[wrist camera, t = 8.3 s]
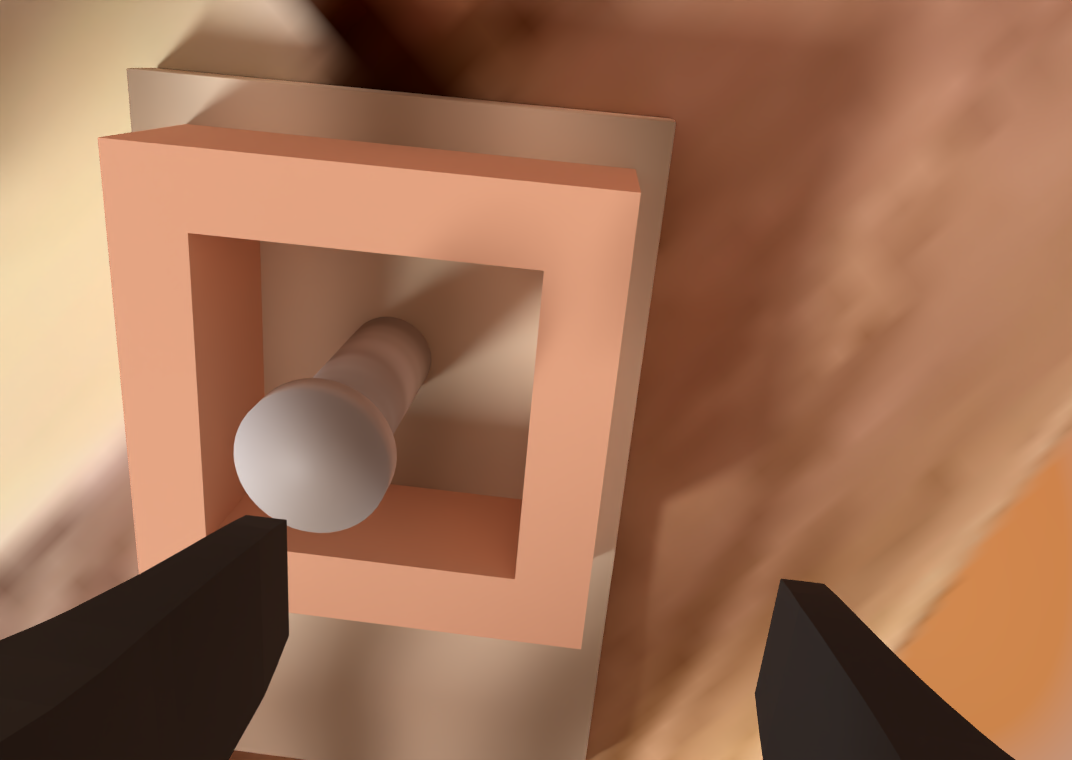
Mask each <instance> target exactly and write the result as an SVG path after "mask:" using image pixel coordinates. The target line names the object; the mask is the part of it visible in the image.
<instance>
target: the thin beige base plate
mask: <svg viewBox="0 0 1072 760" xmlns="http://www.w3.org/2000/svg"><path fill="white" fill-rule="evenodd" d="M127 78H128V91H129V103H130V116H131V128H132V132H137V131H144V130H150V129H157V128H163V127H170V126H176V125H183V124H192V125H202V126H212V127H222V128H232V129H242V130H252V131H262V132H272V133H282V134H292V135H302V136H311V137H321V138H331V139H341V140H351V141H361V142H371V143H381V144H391V145H401V146H411V147H421V148H431V149H441V150H451V151H461V152H471V153H481V154H491V155H501V156H511V157H521V158H530V159H540V160H550V161H560V162H570V163H580V164H590V165H600V166H610V167H620V168H630V169H636V173H637V177H638V182H639V186H640V190H641V197H640V205H639V213H638V220H637V228H636V235H635V243H634V251H633V258H632V266H631V273H630V281H629V289H628V296H627V304H626V311H625V319H624V327H623V334H622V342H621V349H620V357H619V365H618V372H617V380H616V387H615V395H614V403H613V410H612V418H611V426H610V433H609V441H608V448H607V456H606V464H605V471H604V479H603V486H602V494H601V502H600V509H599V517H598V524H597V532H596V540H595V547H594V555H593V562H592V570H591V578H590V585H589V593H588V601H587V608H586V616H585V623H584V631H583V639H582V646H581V649H573V648H566V647H558V646H550V645H542V644H534V643H526V642H518V641H510V640H502V639H494V638H486V637H478V636H470V635H462V634H454V633H447V632H439V631H431V630H423V629H415V628H407V627H399V626H391V625H383V624H375V623H367V622H359V621H351V620H343V619H335V618H328V617H320V616H312V615H304V614H296V613H289V637H288V639H287V642H286V645H285V647H284V650H283V652H282V655H281V657H280V660H279V662H278V665H277V668H276V670H275V672H274V675H273V677H272V679H271V682H270V684H269V686H268V689H267V691H266V694H265V696H264V698H263V700H262V701H261V703H260V705H259V707H258V709H257V710H256V712H255V714H254V716H253V718H252V719H251V721H250V723H249V725H248V726H247V728H246V730H245V732H244V734H243V735H242V737H241V739H240V741H239V742H238V744H237V746H236V748H235V749H234V750H236V751H244V752H251V753H259V754H266V755H274V756H281V757H289V758H296V759H304V760H586V753H587V746H588V739H589V732H590V725H591V718H592V711H593V704H594V697H595V690H596V683H597V676H598V669H599V662H600V655H601V648H602V641H603V634H604V627H605V620H606V613H607V606H608V599H609V592H610V584H611V577H612V570H613V563H614V556H615V549H616V542H617V535H618V528H619V521H620V514H621V507H622V500H623V493H624V486H625V479H626V472H627V465H628V458H629V451H630V444H631V437H632V430H633V423H634V416H635V409H636V402H637V395H638V388H639V381H640V374H641V367H642V360H643V353H644V346H645V339H646V331H647V324H648V317H649V310H650V303H651V296H652V289H653V282H654V275H655V268H656V261H657V254H658V247H659V240H660V233H661V226H662V219H663V212H664V205H665V198H666V191H667V184H668V177H669V170H670V163H671V156H672V149H673V142H674V135H675V128H676V122H675V121H674V120H673V119H671V118H661V117H651V116H641V115H630V114H620V113H610V112H600V111H590V110H579V109H569V108H559V107H549V106H539V105H528V104H518V103H508V102H498V101H487V100H477V99H467V98H457V97H447V96H436V95H426V94H416V93H406V92H396V91H385V90H375V89H365V88H355V87H344V86H334V85H324V84H314V83H304V82H293V81H283V80H273V79H263V78H253V77H242V76H232V75H222V74H212V73H202V72H191V71H181V70H171V69H161V68H127ZM260 258H261V292H262V327H263V361H264V397H263V398H262V399H261V400H260V401H259V402H258V403H257V404H256V405H255V406H254V407H253V408H252V409H251V410H250V411H249V412H248V413H247V415H246V416H245V417H244V419H243V420H242V422H241V424H240V426H239V428H238V431H237V434H236V436H235V442H234V463H235V467H236V471H237V475H238V477H239V480H240V482H241V484H242V486H243V488H244V489H245V491H246V492H247V494H248V495H249V497H250V498H251V499H252V500H253V502H254V503H255V504H256V505H257V506H258V507H259V508H260V509H261V510H263V511H264V512H265V513H266V514H268V515H269V516H270V517H272V518H276V519H285V520H287V526H289V527H291V528H295V529H298V530H301V531H307V532H314V533H330V532H336V531H341V530H344V529H348V528H350V527H352V526H355V525H357V524H358V523H360V522H362V521H363V520H365V519H366V518H367V517H368V516H369V515H371V514H372V513H373V511H374V510H375V509H376V508H377V507H378V505H379V503H380V502H381V500H382V499H383V497H384V495H385V493H386V491H387V489H388V487H389V485H390V484H395V485H403V486H412V487H420V488H429V489H437V490H446V491H454V492H462V493H471V494H479V495H488V496H496V497H505V498H513V499H523V488H524V477H525V467H526V456H527V445H528V435H529V424H530V413H531V403H532V392H533V381H534V371H535V360H536V349H537V339H538V328H539V317H540V307H541V296H542V285H543V275H544V271H541V270H532V269H522V268H513V267H504V266H494V265H485V264H475V263H466V262H456V261H447V260H438V259H428V258H419V257H409V256H400V255H391V254H381V253H372V252H362V251H353V250H344V249H334V248H325V247H315V246H306V245H297V244H287V243H278V242H268V241H260Z"/></svg>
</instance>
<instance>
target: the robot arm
mask: <svg viewBox="0 0 1072 760" xmlns="http://www.w3.org/2000/svg"><path fill="white" fill-rule="evenodd" d="M288 637H289V603H288V555H287V520H285V519H276V518H268V517H260V516H251V515H245V516H243V517H241V518H239V519H237V520H235V521H233V522H231V523H229V524H227V525H225V526H224V527H222V528H220V529H218V530H216V531H215V532H213V533H211V534H209V535H208V536H206V537H204V538H202V539H201V540H199V541H197V542H195V543H194V544H192V545H190V546H188V547H187V548H185V549H183V550H182V551H180V552H178V553H176V554H174V555H173V556H171V557H169V558H167V559H166V560H164V561H162V562H160V563H158V564H157V565H155V566H153V567H151V568H150V569H148V570H146V571H144V572H142V573H141V574H139V575H137V576H135V577H133V578H131V579H129V580H128V581H126V582H124V583H122V584H120V585H118V586H116V587H114V588H112V589H110V590H108V591H106V592H104V593H102V594H100V595H98V596H96V597H94V598H92V599H90V600H88V601H86V602H84V603H82V604H81V605H79V606H77V607H75V608H73V609H71V610H69V611H67V612H64V613H62V614H60V615H58V616H56V617H54V618H52V619H49V620H47V621H45V622H43V623H40V624H38V625H36V626H34V627H31V628H29V629H27V630H24V631H22V632H19V633H17V634H14V635H12V636H10V637H7V638H5V639H2V640H0V760H229V758H230V756H231V755H232V753H233V751H234V749H235V748H236V746H237V744H238V742H239V741H240V739H241V737H242V735H243V734H244V732H245V730H246V728H247V726H248V725H249V723H250V721H251V719H252V718H253V716H254V714H255V712H256V710H257V709H258V707H259V705H260V703H261V701H262V700H263V698H264V696H265V694H266V691H267V689H268V686H269V684H270V682H271V679H272V677H273V675H274V672H275V670H276V668H277V665H278V662H279V660H280V657H281V655H282V652H283V650H284V647H285V645H286V642H287V639H288ZM755 698H756V707H757V716H758V725H759V733H760V741H761V748H762V755H763V760H1015V759H1014V758H1012V757H1011V756H1010V755H1008V754H1007V753H1006V752H1004V751H1003V750H1002V749H1000V748H999V747H998V746H997V745H996V744H994V743H993V742H992V741H991V740H989V739H988V738H987V737H986V736H984V735H983V734H982V733H981V732H979V731H978V730H977V729H976V728H975V727H974V726H973V725H972V724H970V723H969V722H968V721H967V720H966V719H965V718H964V717H962V716H961V715H960V714H959V713H958V712H957V711H956V710H954V709H953V708H952V707H951V706H950V705H949V704H947V703H946V702H945V701H944V700H943V699H942V698H941V697H940V696H939V695H937V694H936V693H935V692H934V691H933V690H932V689H931V688H930V687H929V686H928V685H926V684H925V683H924V682H923V681H922V680H921V679H920V678H919V677H918V676H917V675H916V674H915V673H914V672H913V671H912V670H910V668H909V667H907V665H906V664H904V663H903V662H902V661H901V660H900V659H899V658H898V657H897V656H896V655H895V654H894V653H893V652H892V651H891V650H890V649H889V648H888V647H887V646H886V645H885V644H884V643H883V642H882V641H881V640H880V639H879V638H878V637H877V636H876V635H875V634H874V633H873V632H872V631H871V630H870V629H869V628H868V627H867V626H866V625H865V624H864V623H863V622H862V621H861V620H860V619H859V618H858V617H857V616H856V614H855V613H854V612H853V611H852V610H851V609H850V608H849V607H848V606H847V605H846V604H845V603H844V602H843V601H842V600H841V599H840V598H839V597H838V596H837V595H835V594H834V593H833V592H832V591H831V590H830V589H829V588H828V587H827V586H826V585H825V584H821V583H813V582H804V581H796V580H787V579H781V580H780V584H779V589H778V593H777V598H776V602H775V607H774V611H773V615H772V620H771V624H770V629H769V633H768V638H767V642H766V647H765V651H764V656H763V660H762V664H761V669H760V673H759V678H758V682H757V687H756V691H755Z"/></svg>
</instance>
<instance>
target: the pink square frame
mask: <svg viewBox="0 0 1072 760" xmlns="http://www.w3.org/2000/svg"><path fill="white" fill-rule="evenodd" d="M98 146H99V156H100V167H101V178H102V188H103V199H104V209H105V220H106V230H107V241H108V252H109V262H110V273H111V283H112V294H113V305H114V315H115V326H116V336H117V347H118V358H119V368H120V379H121V389H122V400H123V410H124V421H125V432H126V442H127V453H128V463H129V474H130V485H131V495H132V506H133V516H134V527H135V538H136V548H137V559H138V569H139V574H141V573H142V572H144V571H146V570H148V569H150V568H151V567H153V566H155V565H157V564H158V563H160V562H162V561H164V560H166V559H167V558H169V557H171V556H173V555H174V554H176V553H178V552H180V551H182V550H183V549H185V548H187V547H188V546H190V545H192V544H194V543H195V542H197V541H199V540H201V539H202V538H204V537H206V536H208V535H209V534H211V533H213V532H215V531H216V530H218V529H220V528H222V527H224V526H225V525H227V524H229V523H231V522H233V521H235V520H237V519H239V518H241V517H243V516H245V515H251V516H260V517H268V518H272V517H270V516H269V515H268V514H266V513H265V512H264V511H263V510H261V509H260V508H259V507H258V506H257V505H256V504H255V503H254V502H253V500H252V499H251V498H250V497H249V495H248V494H247V492H246V491H245V489H244V488H243V486H242V484H241V482H240V480H239V477H238V475H237V471H236V467H235V463H234V442H235V436H236V434H237V431H238V428H239V426H240V424H241V422H242V420H243V419H244V417H245V416H246V415H247V413H248V412H249V411H250V410H251V409H252V408H253V407H254V406H255V405H256V404H257V403H258V402H259V401H260V400H261V399H262V398H263V397H264V361H263V327H262V292H261V258H260V241H268V242H278V243H287V244H297V245H306V246H315V247H325V248H334V249H344V250H353V251H362V252H372V253H381V254H391V255H400V256H409V257H419V258H428V259H438V260H447V261H456V262H466V263H475V264H485V265H494V266H504V267H513V268H522V269H532V270H541V271H544V275H543V285H542V296H541V307H540V317H539V328H538V339H537V349H536V360H535V371H534V381H533V392H532V403H531V413H530V424H529V435H528V445H527V456H526V467H525V477H524V488H523V499H513V498H505V497H496V496H488V495H479V494H471V493H462V492H454V491H446V490H437V489H429V488H420V487H412V486H403V485H395V484H390V485H389V487H388V489H387V491H386V493H385V495H384V497H383V499H382V500H381V502H380V503H379V505H378V507H377V508H376V509H375V510H374V511H373V513H372V514H371V515H369V516H368V517H367V518H366V519H365V520H363V521H362V522H360V523H358V524H357V525H355V526H352V527H350V528H348V529H344V530H341V531H336V532H330V533H314V532H307V531H301V530H298V529H295V528H291V527H289V526H287V555H288V603H289V613H296V614H304V615H312V616H320V617H328V618H335V619H343V620H351V621H359V622H367V623H375V624H383V625H391V626H399V627H407V628H415V629H423V630H431V631H439V632H447V633H454V634H462V635H470V636H478V637H486V638H494V639H502V640H510V641H518V642H526V643H534V644H542V645H550V646H558V647H566V648H573V649H581V646H582V639H583V631H584V623H585V616H586V608H587V601H588V593H589V585H590V578H591V570H592V562H593V555H594V547H595V540H596V532H597V524H598V517H599V509H600V502H601V494H602V486H603V479H604V471H605V464H606V456H607V448H608V441H609V433H610V426H611V418H612V410H613V403H614V395H615V387H616V380H617V372H618V365H619V357H620V349H621V342H622V334H623V327H624V319H625V311H626V304H627V296H628V289H629V281H630V273H631V266H632V258H633V251H634V243H635V235H636V228H637V220H638V213H639V205H640V197H641V190H640V186H639V182H638V177H637V173H636V169H630V168H620V167H610V166H600V165H590V164H580V163H570V162H560V161H550V160H540V159H530V158H521V157H511V156H501V155H491V154H481V153H471V152H461V151H451V150H441V149H431V148H421V147H411V146H401V145H391V144H381V143H371V142H361V141H351V140H341V139H331V138H321V137H311V136H302V135H292V134H282V133H272V132H262V131H252V130H242V129H232V128H222V127H212V126H202V125H192V124H183V125H176V126H170V127H163V128H157V129H150V130H144V131H137V132H131V133H124V134H118V135H111V136H105V137H98Z"/></svg>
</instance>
